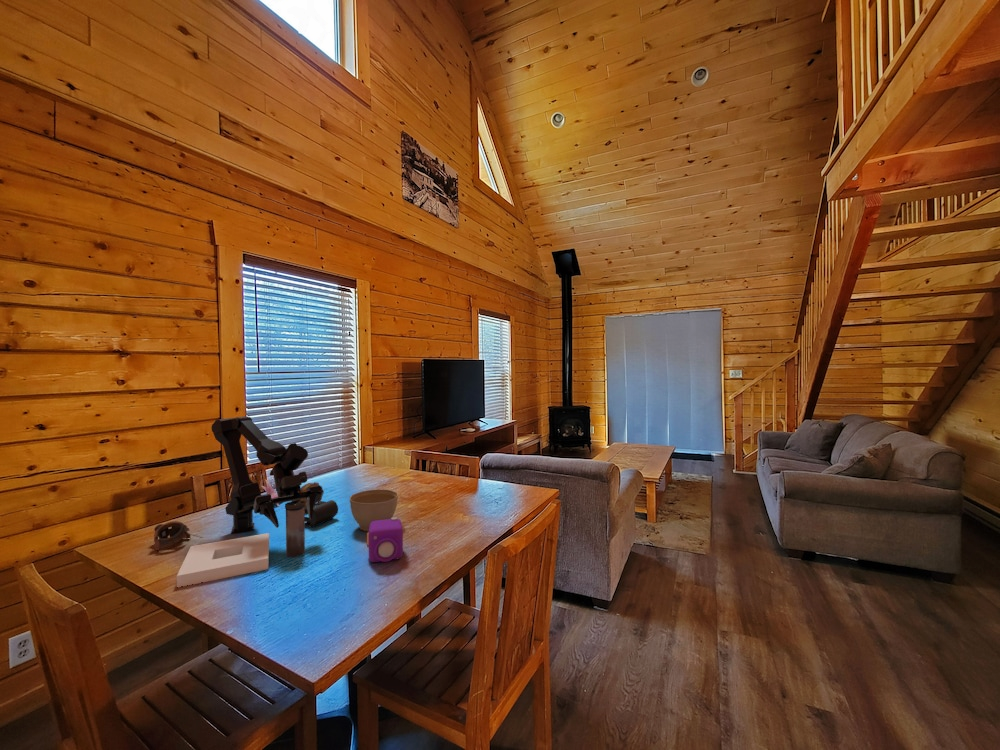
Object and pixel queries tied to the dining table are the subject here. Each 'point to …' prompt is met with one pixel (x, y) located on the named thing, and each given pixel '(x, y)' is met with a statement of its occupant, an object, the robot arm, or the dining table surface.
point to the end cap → (321, 513)
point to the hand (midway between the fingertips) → (294, 523)
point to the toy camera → (385, 540)
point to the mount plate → (224, 559)
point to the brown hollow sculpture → (169, 534)
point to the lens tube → (295, 528)
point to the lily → (270, 490)
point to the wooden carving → (304, 489)
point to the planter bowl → (373, 506)
